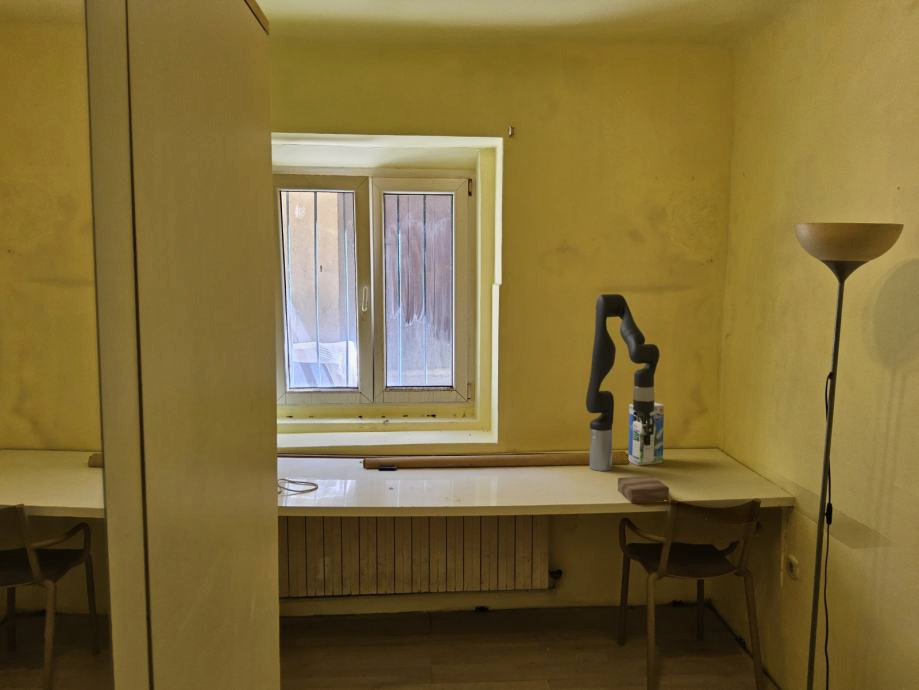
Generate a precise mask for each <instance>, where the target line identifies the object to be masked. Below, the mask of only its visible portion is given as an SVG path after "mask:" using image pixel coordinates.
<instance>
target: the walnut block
mask: <svg viewBox="0 0 919 690" xmlns="http://www.w3.org/2000/svg"><path fill="white" fill-rule="evenodd" d="M617 492H619V493H620V495H622V496H623V497H624V498H625V499H626V500H627V501H629V502H630V503H631V504H641V503H642V504H643V503H657V502H656V501H663V502H665V501H664V500H667V501H666V502H669V501H670V487H668V486H667V485H666V484H665V483H663V482H662V481H661V480H659V479H658V478H657V477H655V476H654V475H647V476H630V477H628V476H627V477H618V478H617Z"/></svg>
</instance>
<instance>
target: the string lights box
mask: <svg viewBox="0 0 919 690" xmlns="http://www.w3.org/2000/svg"><path fill="white" fill-rule="evenodd" d="M628 406H629V411H628V412H629V413H628V415H629V416H628V419H629V420H628V421H629V422H628V460H629V461H630V462H629V461H628V462H629V463H631V464H633V465H635V466H645V465H653V464H654V465H655V464H662V462H664V426H665V425H664V424H665V423H664V417H665V415H664V413H665V404H663V403H658V402H655V401H654V411H653V412H651V413H650V417H651V419H654V460H653V461H650V462H644V463H640V462H638V461H636V460H633V459H632V453H633V422H634V415H633V412H636V411H634V410H633V403H630V404H629V405H628Z"/></svg>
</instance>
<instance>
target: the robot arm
mask: <svg viewBox="0 0 919 690" xmlns="http://www.w3.org/2000/svg"><path fill="white" fill-rule="evenodd" d="M608 318H619V319H621V324H620V328H619V332H620V336H621V338H622V340H623V342H624V343H625V345H626V346H627V350H628V356H629V357H628V358H629V360H630V361H631V362H632V363H634V364H636V365H637V364H638V365H641V364H642V365H643V364H645V365H644V366H643V367H642V368H640V369H637V370H635V371H634V373H633V375H634V376H633V377H634V378H633V392H632V393H633V394H632V395H633V396H632V401H633V402H632V404H633V410H634V411H636V412H633V415H634V421H640V422H641V424H646V427H645V426H643V429H644V445H650V435H653V434H654V419H651V417H650V413H651V412H653V411H654V402H655V398H656V397H655V394H656V393H655V374H656V370H657V367H658V364H659V363H658V362H659V360H660V349H659V347H658V346H657V345H656V344H654V343H646V338H645V335H644V334H643V332H642V331H641V330H640V329H639V327H638V325H637V323H636V322H635V319H634V317H633V314H632V311H631V309H630V306H629V305H628V302H627V300H626V298H625V297H624V296H623V295H621V294H617V293H615V294H614V293H611V294H610V293H608V294H606V293H605V294H604V293H603V294H600V295H598V296H597V299H596V303H595V329H594V337H593V338H594V339H593V346H592V347H593V348H592V354H591V368H590V375H589V382H588V386H587V392H586V395H585V396H586V398H585V406H586V409H587V411H588V413H589V414H600V415H598V416H597V417H596V418H594V419H592V420H591V421H590V422H589V468H590V469H591V470H594V471H600V472H602V471H610V470H612V469H613V468H612V467H613V465H612V464H613V462H612V461H613V460H612V459H613V452H612V451H613V423H614V412H615V399H614V395H613V393H612V392H611V391H610V390H600V389H601V385H602V383H603V381H604V380H605V379H606V377H607V376H608V375H609V373H610V372H611V370H612V368H613V367H614V365H615V362H616V361H615V360H616V354H617V353H616V352H617V350H616V349H617V348H616V345H615V342H614V340H613V339H612V336H610V333H609V331H608V328H607V325H608V324H607V319H608ZM645 343H646V344H645Z"/></svg>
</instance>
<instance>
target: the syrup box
mask: <svg viewBox="0 0 919 690" xmlns="http://www.w3.org/2000/svg"><path fill="white" fill-rule="evenodd" d="M643 426H645V427H646V424H641V422H640V421H634V422H633V453H632V459H633V460H636V461H638V462H640V463H644V462H650V461H653V460H654V434H653V435H650V445H644V429H643Z"/></svg>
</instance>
